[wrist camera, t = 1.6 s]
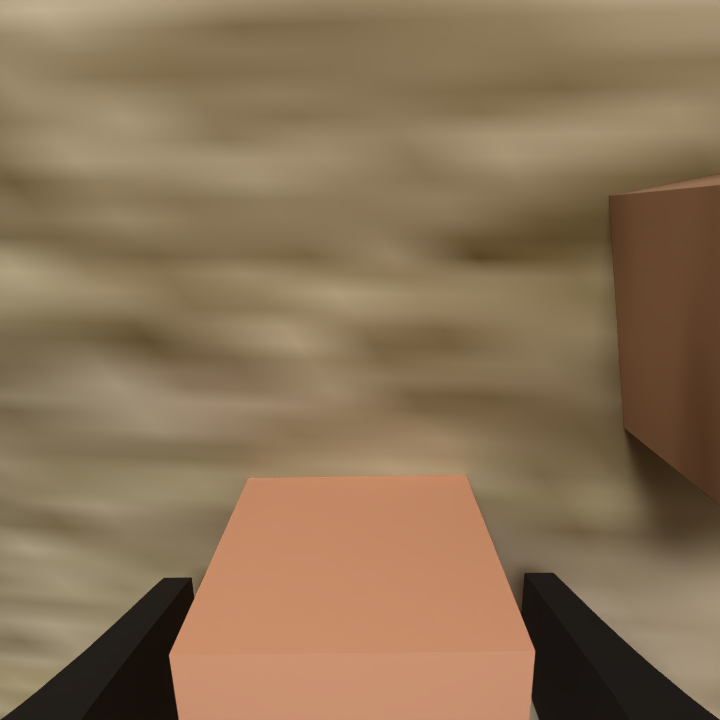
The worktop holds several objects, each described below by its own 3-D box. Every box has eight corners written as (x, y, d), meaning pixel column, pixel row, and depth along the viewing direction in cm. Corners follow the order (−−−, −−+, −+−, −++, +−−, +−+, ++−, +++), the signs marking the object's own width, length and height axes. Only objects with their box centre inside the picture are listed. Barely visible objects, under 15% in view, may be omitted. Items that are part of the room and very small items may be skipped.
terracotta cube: (465, 472, 12) (534, 650, 7) (458, 648, 13) (513, 900, 8) (249, 476, 12) (169, 654, 7) (264, 651, 13) (206, 901, 8)
